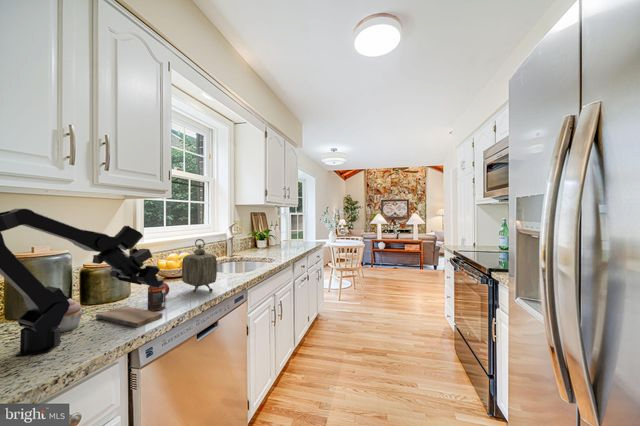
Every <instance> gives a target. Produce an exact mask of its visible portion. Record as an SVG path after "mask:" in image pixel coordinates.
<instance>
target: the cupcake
mask: <svg viewBox="0 0 640 426" xmlns="http://www.w3.org/2000/svg"><path fill="white" fill-rule="evenodd" d="M68 301H69V303H70V306H69V309H68V311H67V313H66V314H65V315H64V316H63V319H62V321H61V323H60V325H59V326H58V328H60V333H63V332H68V331H71V330H74V329H76V328H78V327H79V325H80V322H81V319H82V315H83V314H84V312H85V310H86V309H85V308H84V309H83V308H82V305H81V304H80V302H78V301H74V300H73V299H72V298H70V299H68Z"/></svg>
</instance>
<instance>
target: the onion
mask: <svg viewBox="0 0 640 426" xmlns="http://www.w3.org/2000/svg"><path fill="white" fill-rule="evenodd" d="M163 284H165V285H166V296H168V294H169V293H170V287H169V285H168V284H167V283H166V282H165V280H163Z"/></svg>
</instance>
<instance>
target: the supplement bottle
mask: <svg viewBox="0 0 640 426" xmlns="http://www.w3.org/2000/svg"><path fill="white" fill-rule="evenodd" d="M157 279H158V281H159V284H160V286H159V287H153V286H149V285H148V287H147V310H148V311H153V312H158V311H161V310H164V309H165V308H166V302H167V300H166V299H167V298H166V297H167V295H166V285H165V284H163V281H164V279H163V278H157Z"/></svg>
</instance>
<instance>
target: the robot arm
mask: <svg viewBox="0 0 640 426" xmlns="http://www.w3.org/2000/svg"><path fill="white" fill-rule="evenodd" d="M20 226H24V227H25V228H30V229H33V230H36V231H38V232H41V233H45V234H48V235H51V236H55V237H57V238H60V239H63V240H66V241H69V242H70V243H71V244H73V245H74V246H75V247H78V248H80V249H82V250H84V251H87V252H93V253H94V252H97V253H98V254H93V256H92V258H93V259H92V264H96V265H97V264H98V265H101V264H103V262H104V263H105V264H106V265H107V266H109V267H111V268H110V270H111V271H110V272H109V277H110V278H112V279H113V280H116V281H120V282H124V283H130V284H136V285H139V286H142V285H146V286H148V287H149V286H153V287H159V286H160V284H159V281H158V279H159V278H158V277H157V275H158V273H159V272H160V271H161V270H160V268H159V267H158V266H157V265H152V264H151V265H145V263H144V262H146V261H147V260H149V259H152V257H153V253H152V252H151V249H149V248H134V247H135V246H136V245H137V244H138V243H139V241H141V239H143V237H144V235H143V234H142V233H141V232H140V231H138V230H137V229H135V228H132V227H131V226H130V225H124V226H123V227H122V228H121V229H120V230H119V231H118V232H117V233H116V234H115V235H114V236H110V235H109V234H107V233H102V232H99V231H93V230H86V229H81V228H79V227H76V226H73V225H70V224H68V223H65V222H62V221H59V220H56V219H54V218H52V217H48V216H45V215H43V214H41V213H39V212H36V211H34V210H32V209H29V208H14V209H11V210H7V211H3V212H2V211H1V212H0V275H1V276H2V277H3V278H4V279H5V280H6V281H7V282H8V284H10V285H11V286H12V287H13V288H14V289H15V290H16V291H17V292H18V293H19V294H20V295H21V296H22V297H23V300H24V301H23V302H24V305H25V306H26V308H27V310H26V311H25V312H24V313H23V314H22V315H21V316H19V318H18V319H16V322H17V324H18V325H19V327H22V329H20V334H19V335H20V336H19V337H20V341H19V343H20V344H19V346H20V347H19V351H18V352H17V353H15V355H14V356H15V357H22V356H23V357H24V356H30V355H37V354H46V353H49V352H51V351H52V350H53V349H54V348H55V347H57V346H58V345H59V344H60V343H62V340H61V332H60V328H58V326H59V325H60V323H61V321H62V319H63V316H64V315H65V314H66V313H67V311H68V309H69V306H70V303H69V301H68V299H71V298H70V297H68V296H66V295H65V293H64V291H63V290H62V289H61V288H60V287H55V286H50V285H47V286H45V285H44V284H43V283H42V282H41V281H40V280H39V279H38V278H37V277H36V276H35V275H34V274H33V273H32V271H31V270H29V268H28V267H26V265H24V263H23V262H22V261H21V260H20V259H19V258H18V257H17V256H16V255H15V254H14V253H13V252H12V250H10V249H9V247H7V245H6V243H5V240H4V237H3V234H2V232H5V231H9V230H11V229H14V228H17V227H20ZM127 250H129V252H128V254H129V255H128V254H127V253H126V252H125V251H127ZM144 265H145V267H143V266H144ZM142 267H143V268H142Z"/></svg>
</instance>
